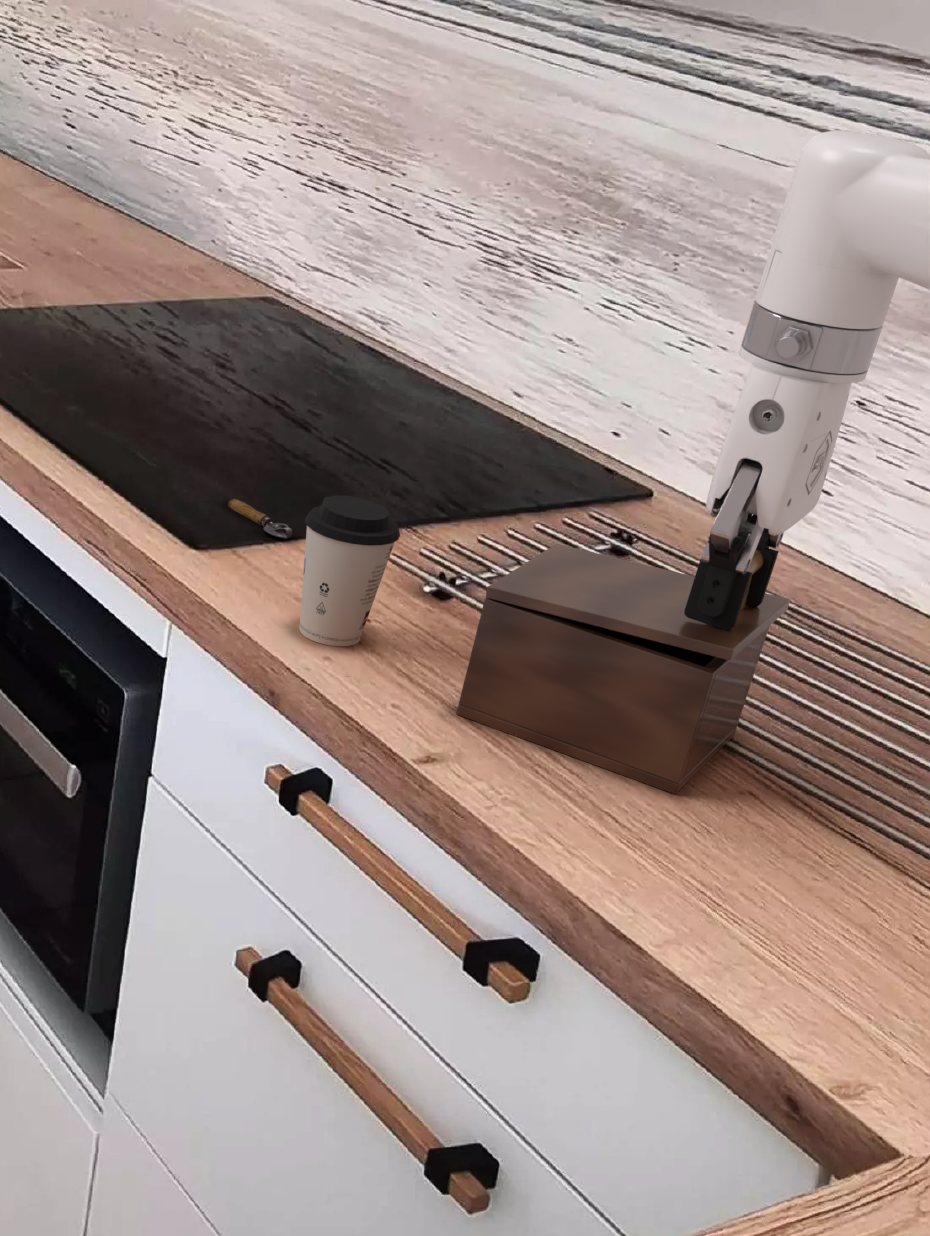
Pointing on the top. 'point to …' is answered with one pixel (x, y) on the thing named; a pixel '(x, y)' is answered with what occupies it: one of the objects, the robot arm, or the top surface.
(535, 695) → the box
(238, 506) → the can opener
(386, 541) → the coffee cup
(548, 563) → the caddy lid
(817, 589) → the top surface
